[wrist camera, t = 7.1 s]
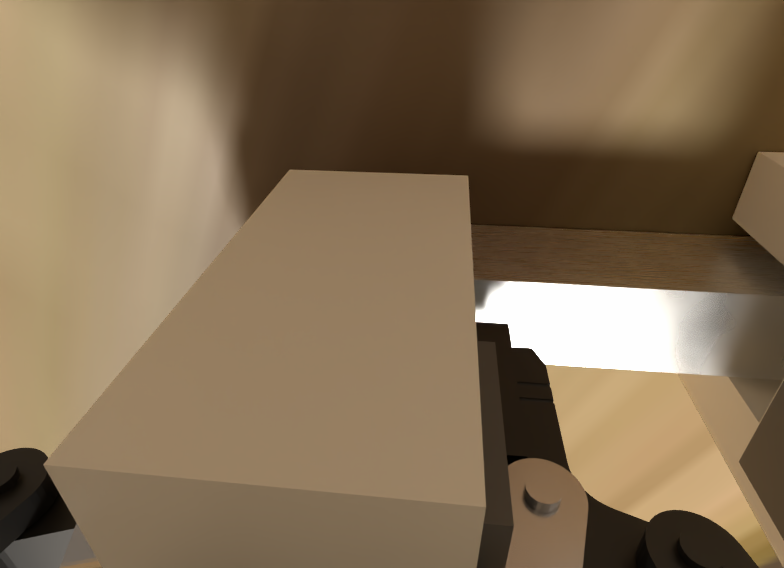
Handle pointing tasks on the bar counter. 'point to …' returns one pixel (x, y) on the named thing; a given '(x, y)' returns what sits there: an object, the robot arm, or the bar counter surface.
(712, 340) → the rail
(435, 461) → the cream rectangular block
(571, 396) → the bar counter surface
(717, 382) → the block
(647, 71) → the bar counter surface
